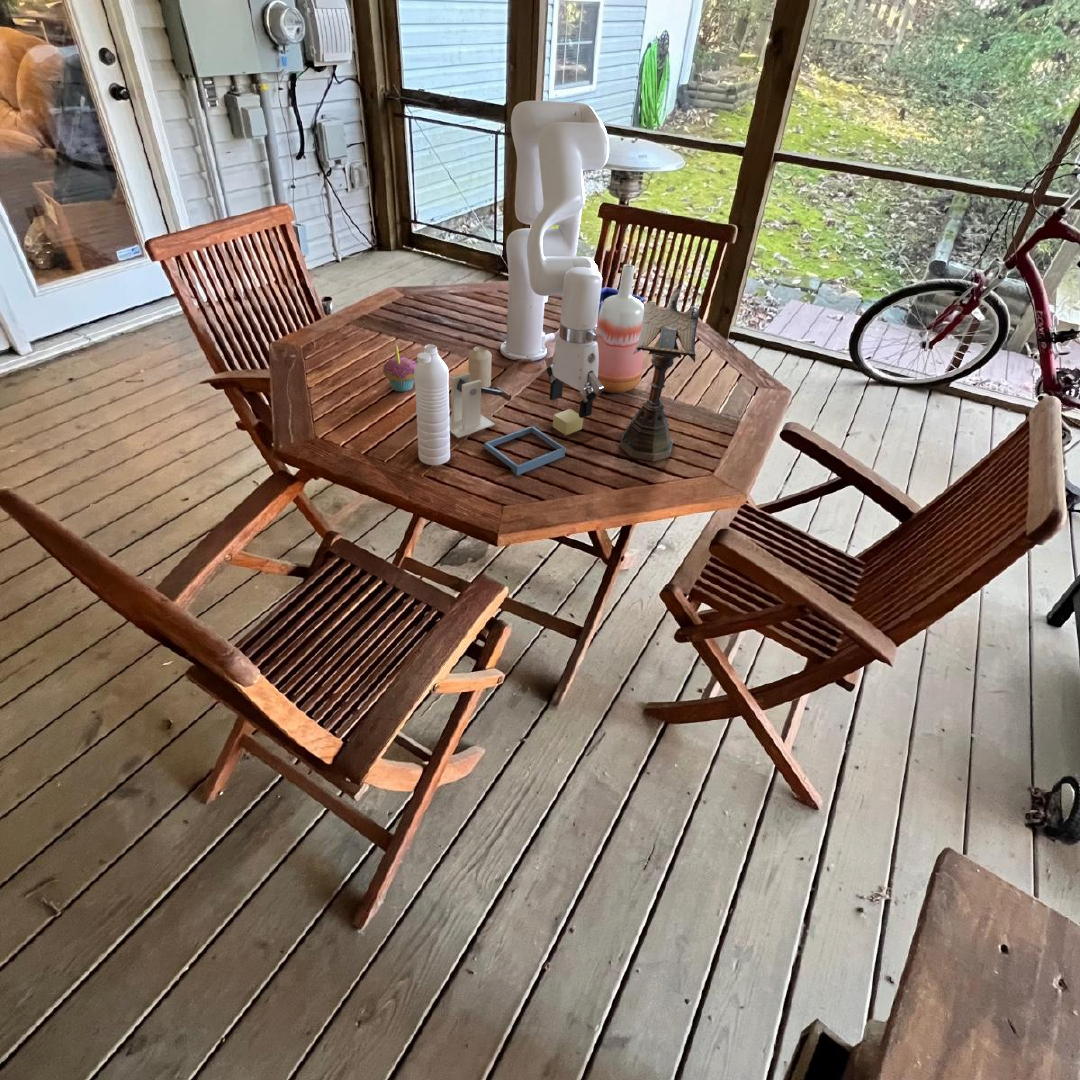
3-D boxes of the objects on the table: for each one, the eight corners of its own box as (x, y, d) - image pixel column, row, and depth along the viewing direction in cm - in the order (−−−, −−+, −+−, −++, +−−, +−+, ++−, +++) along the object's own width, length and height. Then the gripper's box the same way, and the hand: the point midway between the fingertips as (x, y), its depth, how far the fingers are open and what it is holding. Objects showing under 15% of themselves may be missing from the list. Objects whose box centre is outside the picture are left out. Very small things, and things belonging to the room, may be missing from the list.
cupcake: (412, 397, 163) (410, 350, 155) (378, 392, 164) (374, 344, 156) (424, 382, 169) (422, 335, 162) (391, 376, 170) (388, 330, 163)
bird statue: (675, 478, 144) (713, 315, 121) (613, 467, 145) (640, 304, 123) (681, 439, 156) (716, 285, 134) (624, 429, 158) (650, 275, 136)
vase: (650, 386, 176) (672, 268, 157) (615, 404, 167) (634, 281, 148) (606, 366, 183) (622, 251, 164) (571, 382, 174) (583, 263, 155)
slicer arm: (496, 394, 158) (499, 384, 157) (509, 403, 155) (513, 393, 154) (452, 386, 148) (456, 375, 148) (466, 395, 146) (469, 385, 145)
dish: (531, 433, 154) (532, 425, 152) (564, 456, 147) (565, 447, 146) (484, 451, 147) (484, 442, 145) (516, 475, 140) (517, 467, 139)
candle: (494, 385, 170) (495, 347, 164) (484, 394, 167) (484, 355, 160) (475, 379, 172) (475, 341, 166) (464, 388, 168) (464, 350, 162)
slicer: (473, 413, 159) (474, 366, 151) (494, 428, 154) (496, 380, 147) (437, 425, 154) (435, 377, 146) (457, 441, 149) (457, 392, 142)
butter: (568, 423, 158) (570, 408, 156) (581, 432, 156) (583, 416, 153) (552, 430, 156) (553, 414, 153) (565, 438, 153) (566, 423, 150)
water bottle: (424, 449, 146) (419, 336, 130) (453, 454, 145) (452, 341, 129) (411, 471, 139) (404, 355, 123) (442, 476, 138) (439, 360, 123)
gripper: (620, 342, 138) (609, 418, 148) (563, 315, 148) (557, 387, 158) (593, 350, 134) (584, 428, 144) (536, 321, 144) (532, 396, 154)
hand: (570, 407), depth 151 cm, fingers open, 9 cm apart
